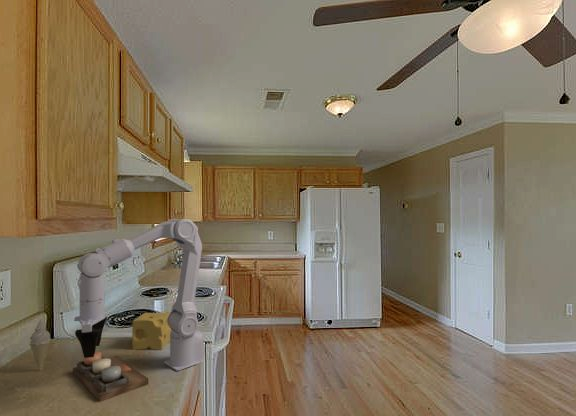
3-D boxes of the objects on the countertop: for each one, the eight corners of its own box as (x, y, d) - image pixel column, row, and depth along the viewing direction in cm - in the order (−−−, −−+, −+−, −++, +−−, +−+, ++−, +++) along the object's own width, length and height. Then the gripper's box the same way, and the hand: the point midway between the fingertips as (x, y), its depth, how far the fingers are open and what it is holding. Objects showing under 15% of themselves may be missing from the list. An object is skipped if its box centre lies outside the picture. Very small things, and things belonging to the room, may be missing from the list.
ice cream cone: (47, 365, 107) (47, 315, 107) (53, 369, 103) (53, 318, 104) (27, 370, 103) (27, 319, 103) (32, 375, 100) (33, 322, 100)
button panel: (116, 360, 110) (116, 350, 110) (148, 384, 95) (148, 372, 95) (72, 373, 101) (72, 362, 101) (100, 401, 86) (100, 389, 86)
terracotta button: (98, 357, 105) (98, 350, 105) (103, 361, 102) (103, 354, 102) (81, 361, 101) (81, 354, 101) (86, 366, 98) (87, 359, 98)
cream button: (107, 364, 100) (107, 357, 100) (113, 369, 97) (113, 361, 97) (90, 369, 97) (90, 361, 97) (95, 374, 94) (95, 366, 94)
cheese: (162, 350, 118) (162, 320, 118) (130, 350, 118) (130, 320, 119) (172, 339, 129) (172, 311, 129) (143, 339, 129) (143, 311, 129)
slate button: (116, 371, 95) (116, 364, 95) (123, 377, 92) (123, 369, 92) (99, 377, 92) (99, 369, 92) (105, 383, 89) (105, 375, 89)
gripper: (81, 294, 98) (81, 343, 98) (67, 307, 84) (67, 364, 84) (109, 292, 100) (109, 340, 100) (100, 305, 87) (100, 360, 87)
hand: (92, 351), depth 92 cm, fingers open, 7 cm apart
